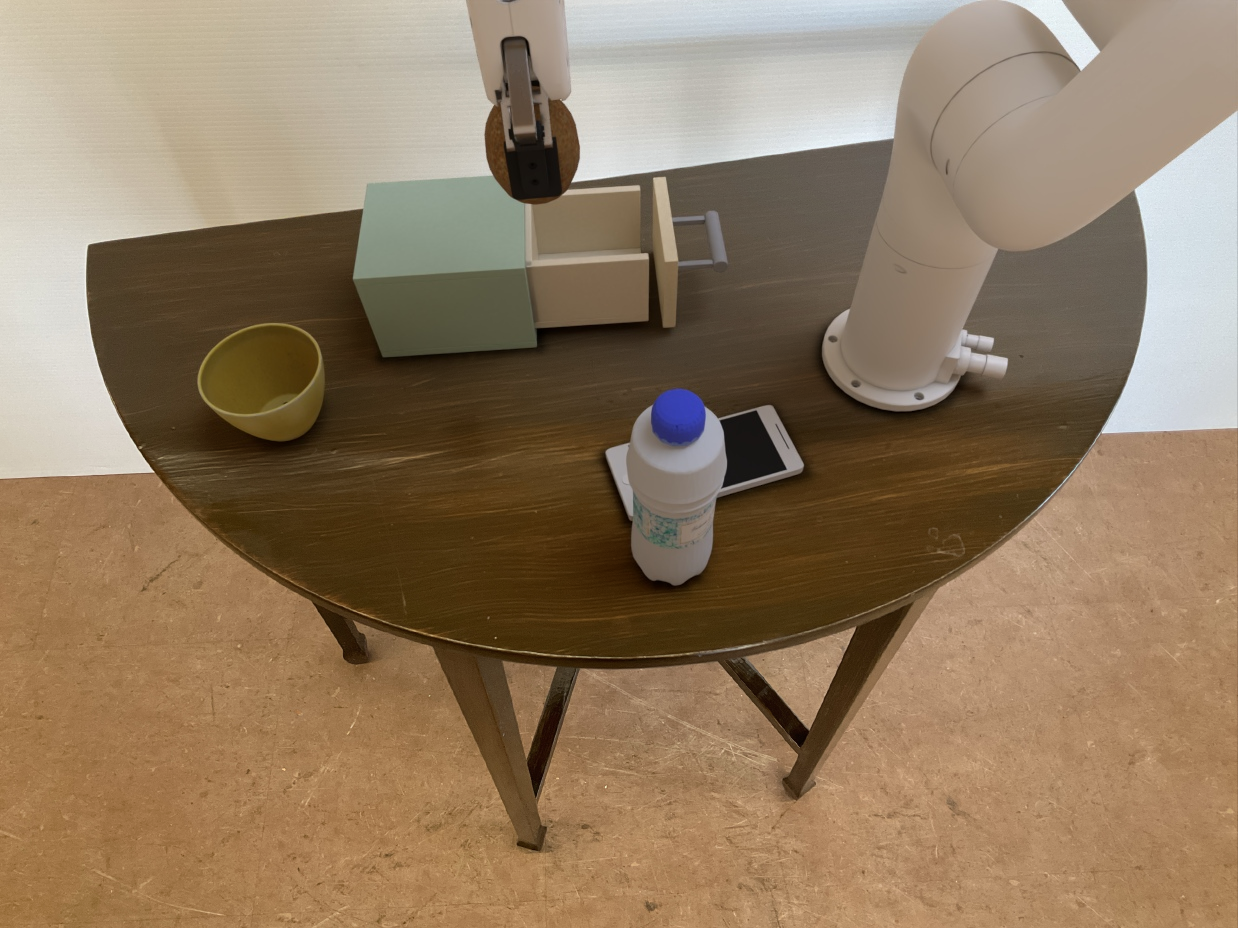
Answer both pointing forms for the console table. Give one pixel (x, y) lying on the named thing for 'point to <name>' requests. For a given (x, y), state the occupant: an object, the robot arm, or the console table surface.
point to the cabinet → (444, 267)
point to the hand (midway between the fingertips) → (535, 159)
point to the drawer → (607, 256)
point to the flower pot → (265, 380)
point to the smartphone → (734, 454)
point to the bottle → (675, 485)
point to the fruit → (560, 128)
